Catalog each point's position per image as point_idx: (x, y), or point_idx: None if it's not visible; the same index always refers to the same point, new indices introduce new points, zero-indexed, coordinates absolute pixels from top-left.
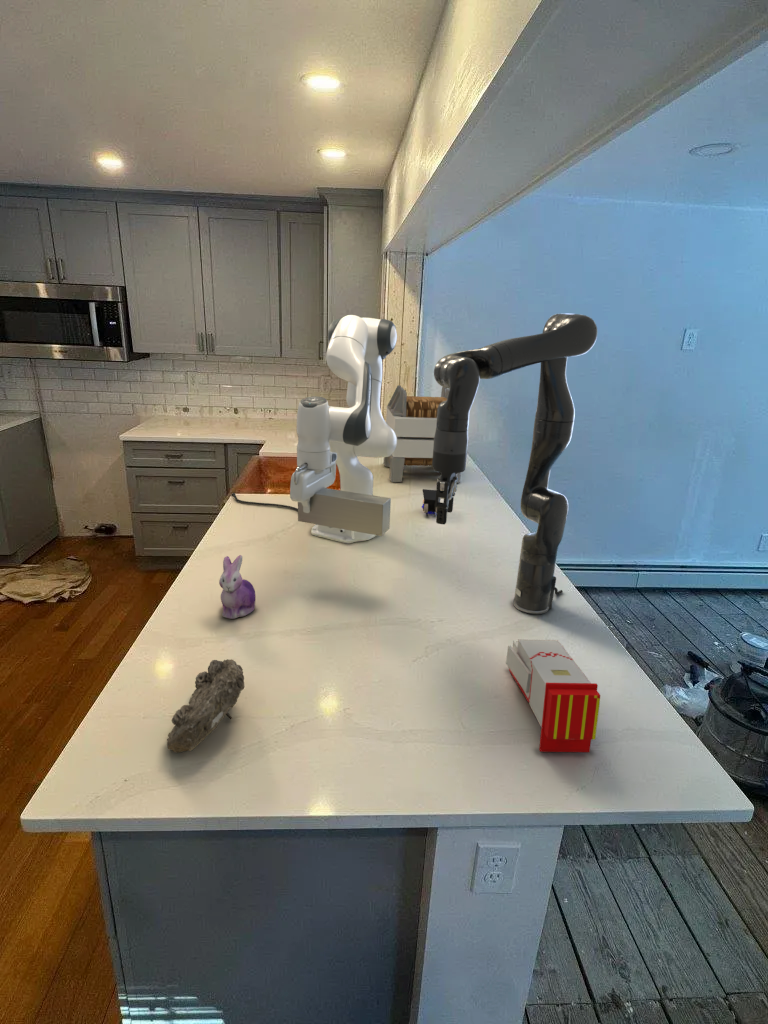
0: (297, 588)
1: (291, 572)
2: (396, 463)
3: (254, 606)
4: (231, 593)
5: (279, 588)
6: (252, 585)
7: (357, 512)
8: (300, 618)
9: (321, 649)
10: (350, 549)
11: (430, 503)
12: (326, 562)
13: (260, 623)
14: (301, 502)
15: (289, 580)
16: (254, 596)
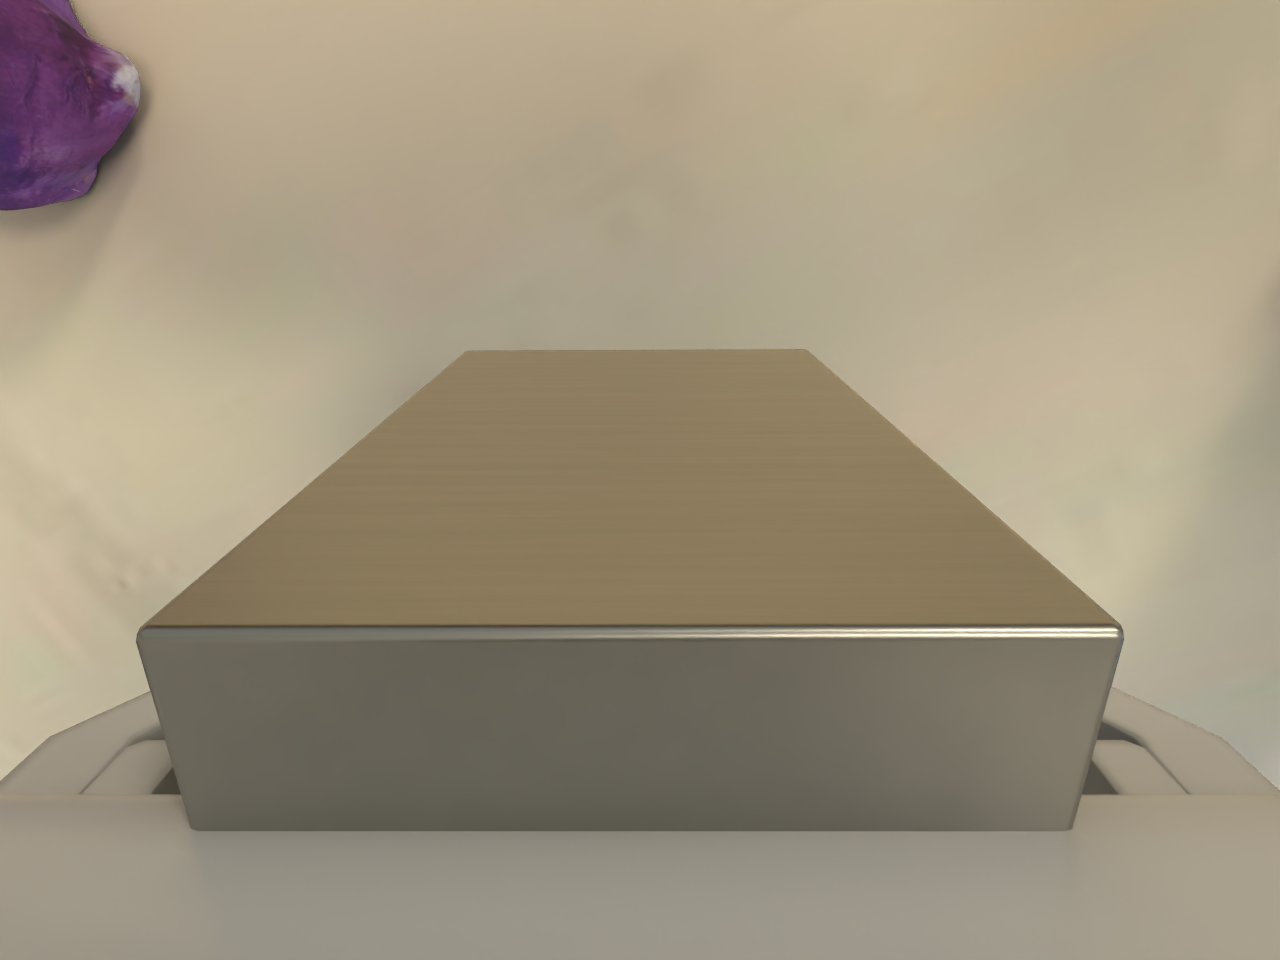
0: (482, 303)
1: (679, 132)
2: None
3: (64, 200)
4: None
5: (419, 187)
6: (2, 142)
7: None
8: (193, 492)
9: (41, 691)
10: (1211, 359)
11: None
12: (933, 297)
13: (4, 321)
14: (107, 718)
15: (558, 189)
16: (7, 202)
